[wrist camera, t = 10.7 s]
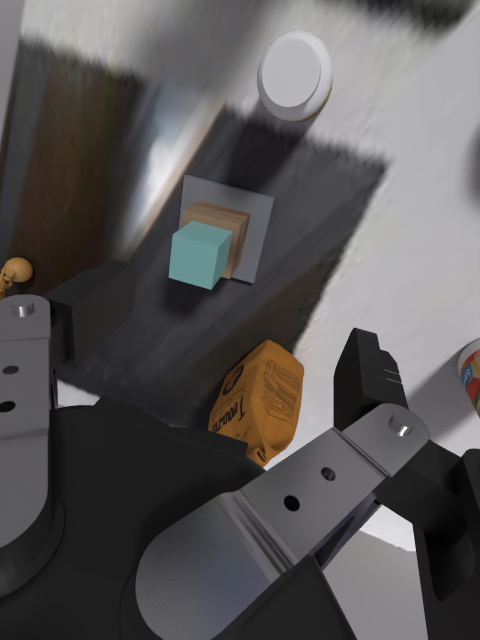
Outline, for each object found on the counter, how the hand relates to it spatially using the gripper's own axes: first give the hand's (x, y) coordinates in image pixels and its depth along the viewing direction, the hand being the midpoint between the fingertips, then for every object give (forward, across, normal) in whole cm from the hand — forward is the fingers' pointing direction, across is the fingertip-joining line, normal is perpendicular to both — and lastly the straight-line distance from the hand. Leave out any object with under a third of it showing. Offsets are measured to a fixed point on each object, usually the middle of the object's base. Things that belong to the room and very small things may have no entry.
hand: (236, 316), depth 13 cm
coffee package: (+36, -2, +30) cm, 47 cm away
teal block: (+29, +9, +9) cm, 32 cm away
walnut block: (+35, +9, +9) cm, 37 cm away
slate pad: (+36, +9, +9) cm, 38 cm away
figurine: (+36, +40, +24) cm, 59 cm away
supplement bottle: (+36, +3, -9) cm, 38 cm away
